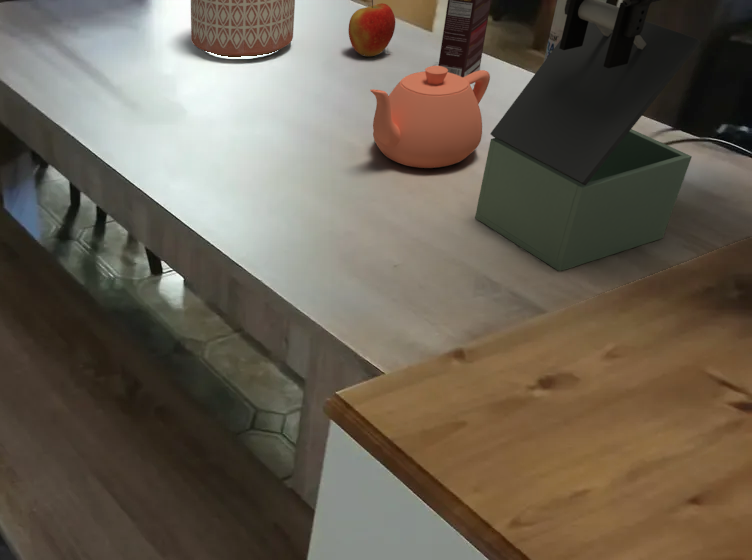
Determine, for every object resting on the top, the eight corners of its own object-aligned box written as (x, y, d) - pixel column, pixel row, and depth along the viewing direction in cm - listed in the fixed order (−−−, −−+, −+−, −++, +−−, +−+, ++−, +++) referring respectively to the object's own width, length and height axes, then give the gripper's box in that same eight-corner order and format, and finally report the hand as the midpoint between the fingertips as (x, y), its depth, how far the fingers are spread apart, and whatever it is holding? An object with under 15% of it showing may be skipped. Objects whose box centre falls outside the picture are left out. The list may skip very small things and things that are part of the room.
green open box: (572, 189, 127) (593, 111, 120) (662, 238, 116) (692, 156, 109) (474, 217, 122) (490, 138, 115) (559, 271, 112) (582, 188, 104)
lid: (592, 5, 109) (565, -29, 105) (700, 42, 98) (676, 7, 94) (493, 136, 115) (464, 110, 111) (585, 185, 104) (557, 158, 100)
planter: (239, 23, 186) (241, -59, 176) (313, 43, 175) (319, -42, 165) (170, 48, 177) (168, -37, 167) (243, 71, 166) (245, -18, 156)
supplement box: (453, 66, 163) (469, -32, 153) (480, 71, 161) (498, -29, 150) (433, 82, 158) (449, -19, 148) (460, 87, 156) (478, -15, 145)
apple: (365, 65, 166) (372, 5, 159) (337, 52, 171) (342, -6, 164) (400, 55, 168) (408, -3, 162) (372, 43, 174) (378, -14, 167)
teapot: (395, 192, 129) (407, 104, 121) (328, 154, 139) (335, 70, 131) (512, 153, 136) (531, 68, 128) (441, 120, 146) (454, 39, 138)
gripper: (555, -200, 94) (508, 38, 109) (711, -177, 81) (632, 89, 96) (612, -208, 96) (558, 26, 111) (773, -187, 83) (686, 75, 98)
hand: (592, 55), depth 104 cm, fingers closed on lid, 6 cm apart
